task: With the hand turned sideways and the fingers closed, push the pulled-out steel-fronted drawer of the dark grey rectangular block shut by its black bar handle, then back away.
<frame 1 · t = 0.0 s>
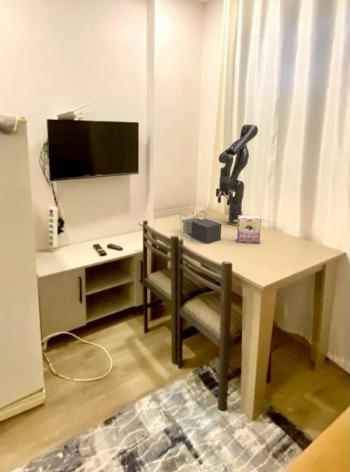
hand: (223, 203, 232), 17 cm above the table, tool pointing down, fingers open, 8 cm apart
candy box: (247, 241, 207), on the table
drawer: (193, 225, 219), point 5 cm above the table, slide at 8.0 cm
dark grey rectangular block: (205, 238, 211), on the table
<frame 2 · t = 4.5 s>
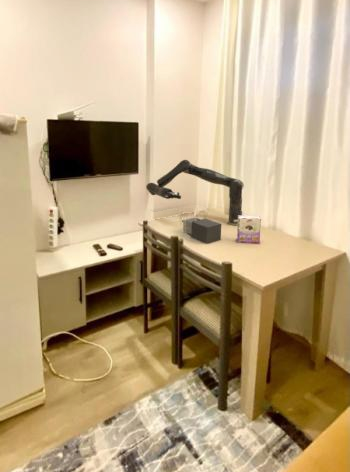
hand: (180, 197, 227), 22 cm above the table, tool horizontal, fingers closed
nothing on the table moved.
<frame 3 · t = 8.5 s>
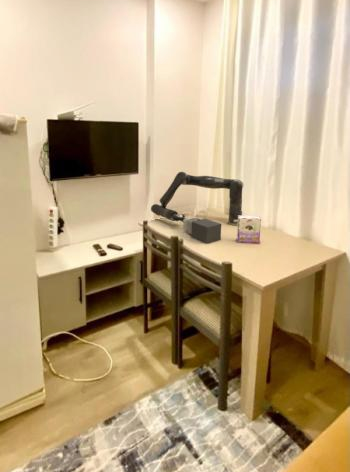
hand: (185, 220, 225), 7 cm above the table, tool horizontal, fingers closed
drawer: (194, 225, 219), point 5 cm above the table, slide at 7.8 cm, touching gripper
everything else where it was.
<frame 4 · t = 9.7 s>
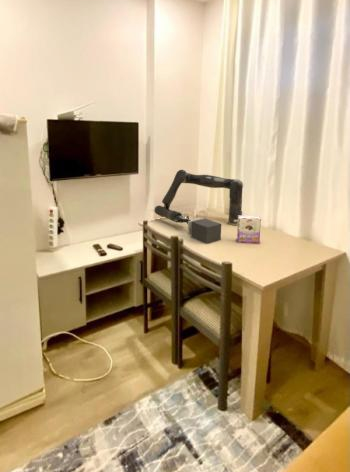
hand: (190, 221, 221), 7 cm above the table, tool horizontal, fingers closed
drawer: (198, 227, 215), point 5 cm above the table, slide at 3.0 cm, touching gripper
everything else where it was.
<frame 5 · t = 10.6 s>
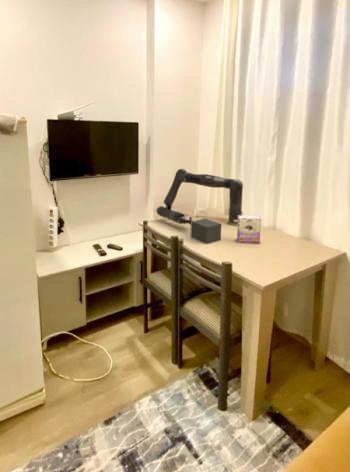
hand: (192, 223, 219), 7 cm above the table, tool horizontal, fingers closed
drawer: (201, 228, 213), point 5 cm above the table, slide at 0.1 cm, touching gripper
everything else where it was.
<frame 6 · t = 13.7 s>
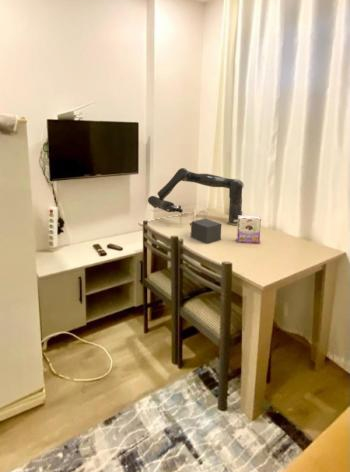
hand: (181, 211, 227), 13 cm above the table, tool horizontal, fingers closed
drawer: (201, 228, 213), point 5 cm above the table, slide at 0.1 cm
everything else where it was.
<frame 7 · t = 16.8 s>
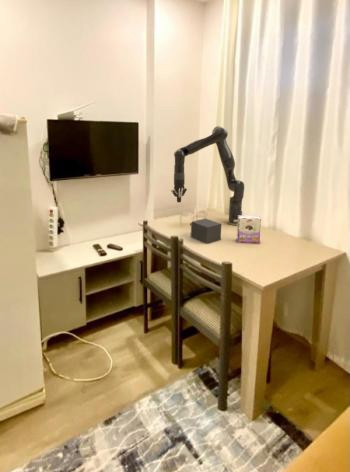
hand: (179, 202, 229), 18 cm above the table, tool pointing down, fingers closed
nothing on the table moved.
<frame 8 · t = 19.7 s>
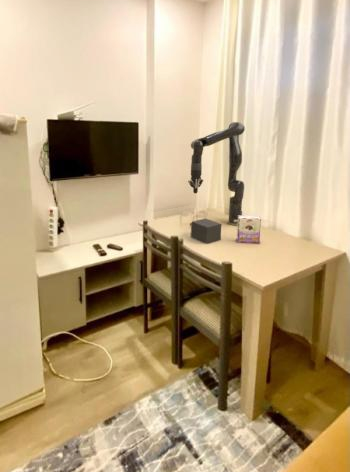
hand: (195, 193, 229), 25 cm above the table, tool pointing down, fingers closed
nothing on the table moved.
at the end: drawer slide at 0.1 cm; candy box moved 0.2 cm from its start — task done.
